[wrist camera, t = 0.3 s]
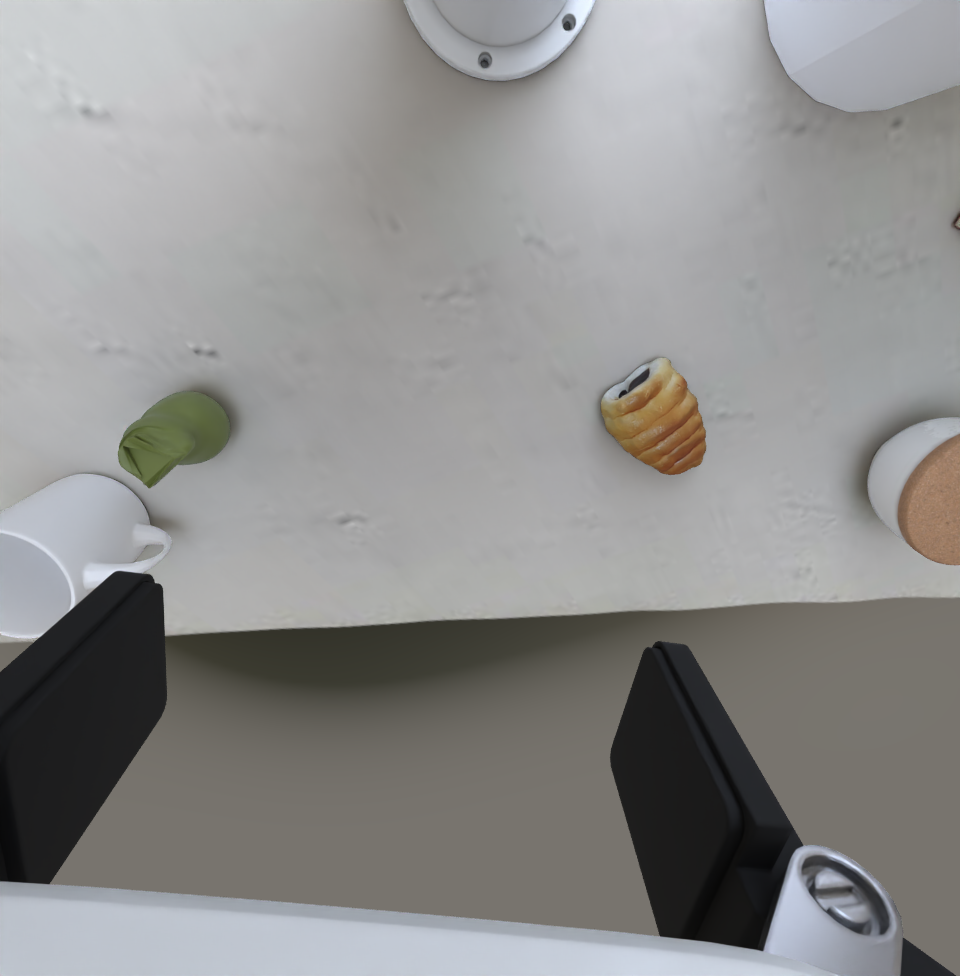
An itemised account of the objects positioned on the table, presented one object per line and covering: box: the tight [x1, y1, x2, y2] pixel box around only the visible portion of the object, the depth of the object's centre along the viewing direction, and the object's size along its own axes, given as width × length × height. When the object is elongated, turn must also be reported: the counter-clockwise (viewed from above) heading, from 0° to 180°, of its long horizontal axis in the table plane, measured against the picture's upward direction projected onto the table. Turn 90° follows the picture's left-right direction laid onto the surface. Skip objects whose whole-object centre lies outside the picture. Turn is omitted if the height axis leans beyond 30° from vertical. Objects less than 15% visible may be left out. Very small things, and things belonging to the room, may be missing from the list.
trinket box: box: [867, 417, 960, 565], centre depth 44 cm, size 11×11×9 cm
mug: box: [0, 474, 172, 638], centre depth 43 cm, size 9×12×11 cm
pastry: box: [601, 358, 706, 475], centre depth 44 cm, size 9×7×4 cm
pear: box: [118, 391, 230, 488], centre depth 41 cm, size 6×5×10 cm
